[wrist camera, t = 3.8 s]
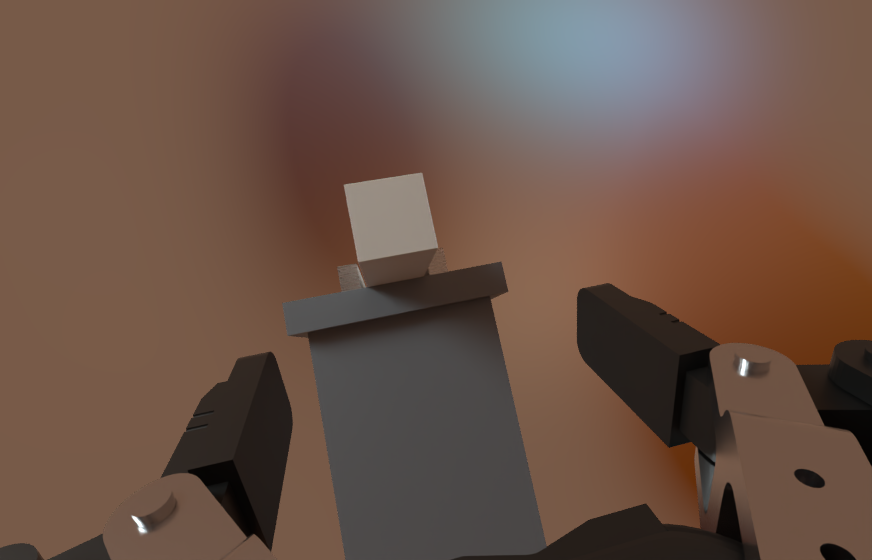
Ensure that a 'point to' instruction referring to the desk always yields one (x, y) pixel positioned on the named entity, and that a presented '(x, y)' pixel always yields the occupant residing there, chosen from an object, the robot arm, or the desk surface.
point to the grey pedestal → (420, 416)
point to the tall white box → (391, 228)
